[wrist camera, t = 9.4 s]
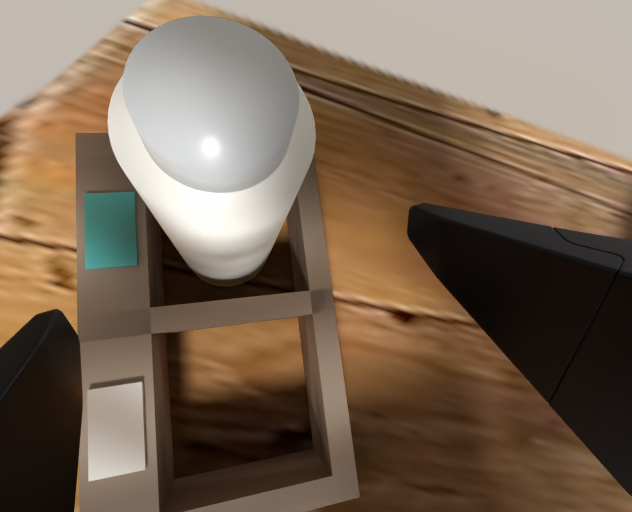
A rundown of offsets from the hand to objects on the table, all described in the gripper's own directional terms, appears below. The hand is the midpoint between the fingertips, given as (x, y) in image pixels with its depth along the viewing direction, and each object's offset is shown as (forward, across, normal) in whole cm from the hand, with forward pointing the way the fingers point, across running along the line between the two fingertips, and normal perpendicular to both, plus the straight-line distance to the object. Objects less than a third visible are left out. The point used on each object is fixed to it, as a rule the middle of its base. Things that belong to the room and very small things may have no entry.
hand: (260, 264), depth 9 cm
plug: (+9, 0, +5) cm, 10 cm away
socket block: (+6, +1, +7) cm, 10 cm away
